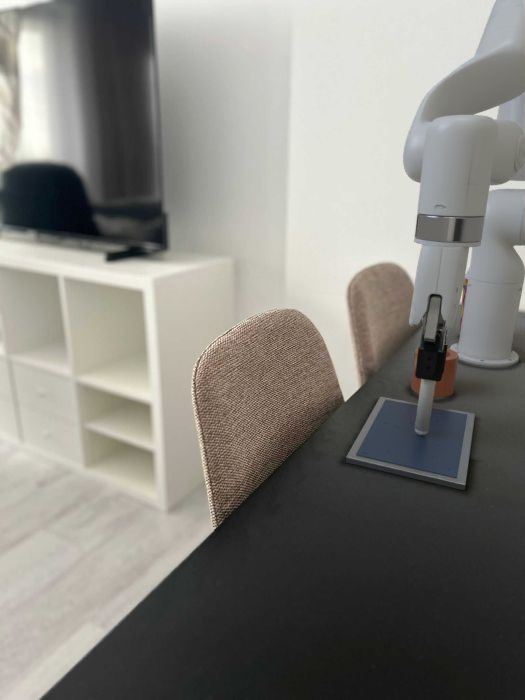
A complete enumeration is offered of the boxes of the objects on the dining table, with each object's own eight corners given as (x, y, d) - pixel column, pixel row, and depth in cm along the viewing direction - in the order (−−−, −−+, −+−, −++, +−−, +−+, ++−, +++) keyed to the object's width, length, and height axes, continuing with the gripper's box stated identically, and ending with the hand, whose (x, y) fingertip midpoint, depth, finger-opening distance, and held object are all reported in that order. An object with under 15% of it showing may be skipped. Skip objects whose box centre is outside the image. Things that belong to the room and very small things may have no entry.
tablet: (379, 400, 81) (380, 395, 81) (474, 418, 76) (475, 412, 76) (345, 462, 64) (345, 456, 64) (464, 490, 59) (465, 484, 58)
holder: (413, 381, 89) (418, 343, 86) (454, 388, 86) (460, 349, 84) (407, 396, 83) (411, 355, 81) (450, 404, 80) (457, 362, 78)
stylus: (415, 430, 70) (428, 330, 66) (428, 433, 70) (443, 332, 65) (412, 435, 69) (426, 333, 64) (426, 439, 68) (441, 336, 63)
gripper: (425, 223, 69) (410, 353, 75) (403, 235, 55) (387, 392, 61) (485, 226, 66) (464, 361, 72) (478, 240, 52) (454, 404, 58)
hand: (429, 374), depth 66 cm, fingers closed on stylus, 1 cm apart
